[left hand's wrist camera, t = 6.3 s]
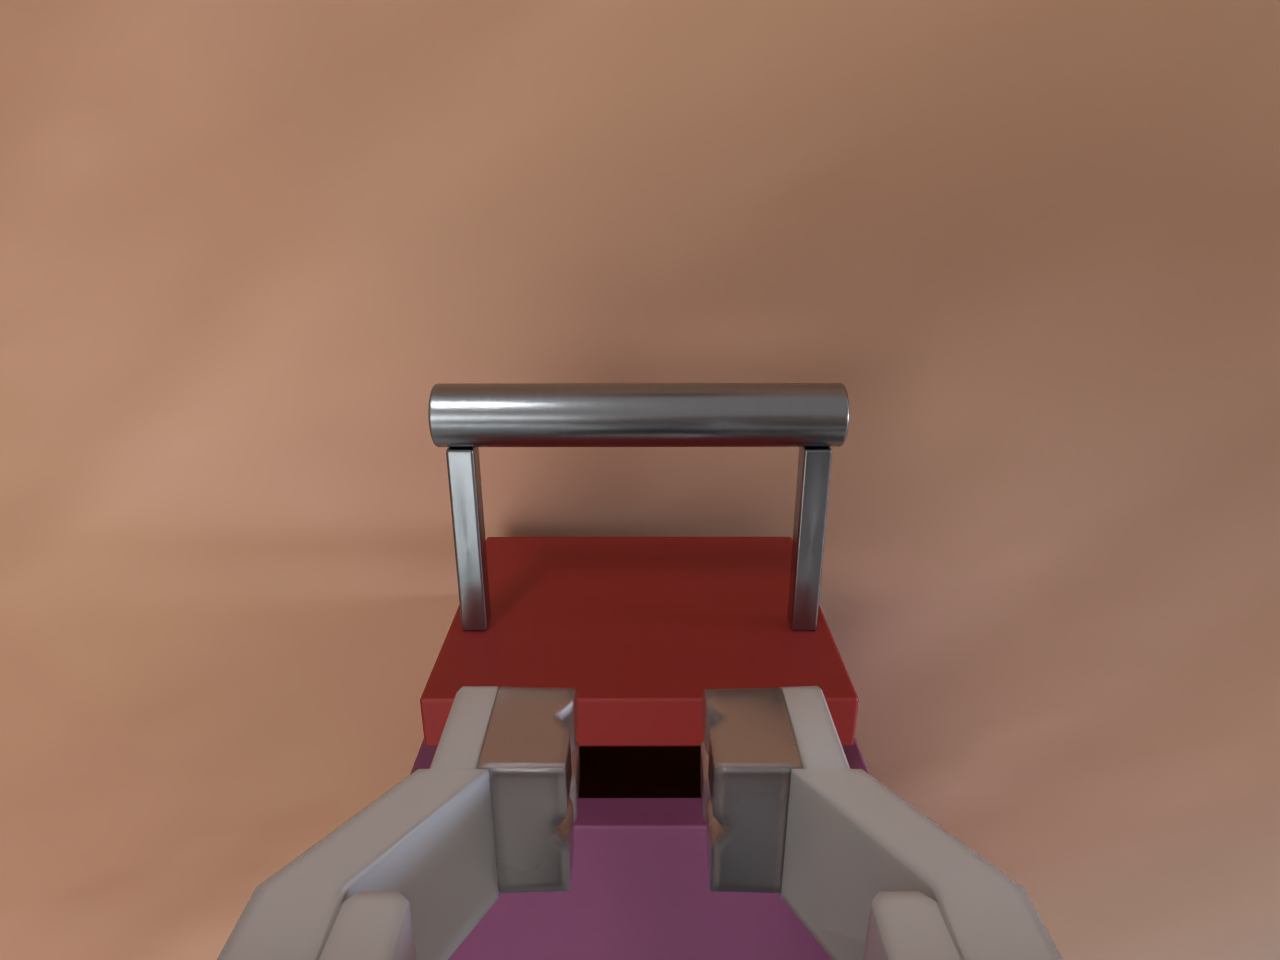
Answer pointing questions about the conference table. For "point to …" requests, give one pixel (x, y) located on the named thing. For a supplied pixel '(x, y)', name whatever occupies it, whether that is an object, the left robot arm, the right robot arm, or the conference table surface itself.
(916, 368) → the conference table surface
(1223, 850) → the conference table surface
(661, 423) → the drawer
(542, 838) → the left robot arm
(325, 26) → the conference table surface
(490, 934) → the cabinet
